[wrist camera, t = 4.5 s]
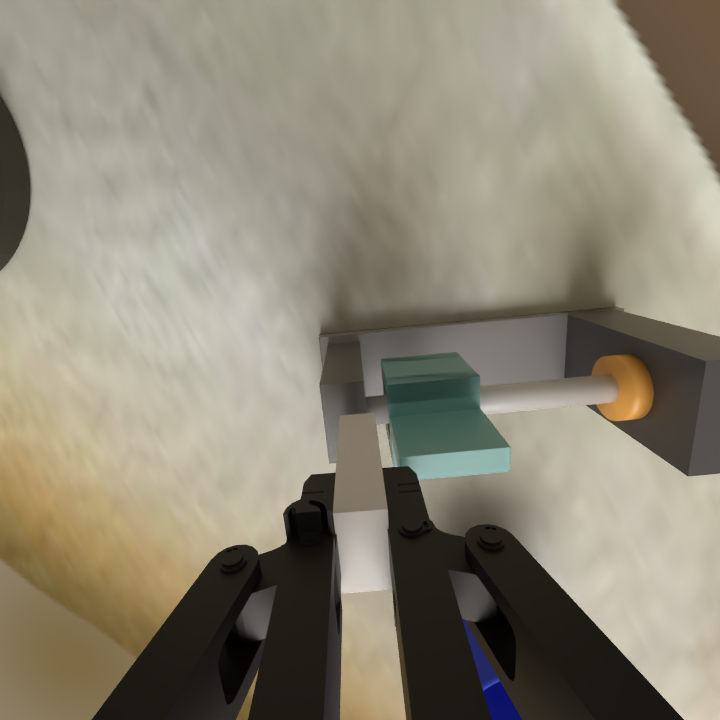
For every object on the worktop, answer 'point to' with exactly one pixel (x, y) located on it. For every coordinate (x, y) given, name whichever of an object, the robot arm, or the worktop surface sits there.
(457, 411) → the sleeve
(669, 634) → the worktop surface
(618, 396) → the grey slider rail stand
